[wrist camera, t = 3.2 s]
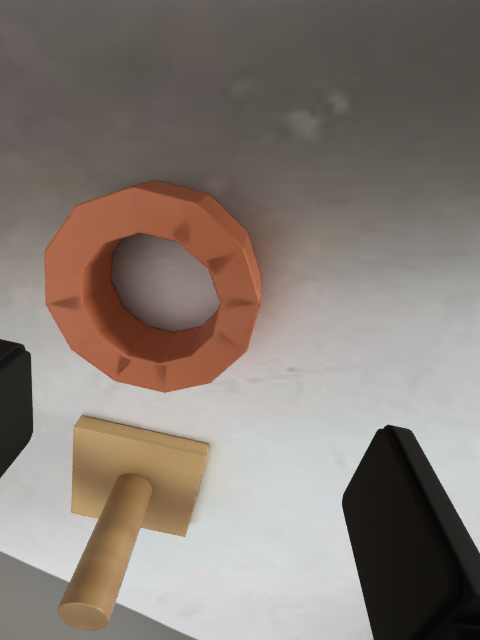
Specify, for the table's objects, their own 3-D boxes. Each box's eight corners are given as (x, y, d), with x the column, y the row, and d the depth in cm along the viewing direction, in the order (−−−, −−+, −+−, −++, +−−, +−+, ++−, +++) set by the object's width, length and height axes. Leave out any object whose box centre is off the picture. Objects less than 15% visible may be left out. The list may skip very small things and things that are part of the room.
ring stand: (81, 415, 21) (-12, 548, 14) (209, 444, 22) (181, 588, 15) (77, 499, 25) (1, 642, 18) (188, 523, 25) (157, 672, 18)
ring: (82, 161, 15) (42, 163, 12) (279, 211, 15) (282, 224, 13) (77, 335, 19) (46, 366, 16) (235, 372, 19) (230, 408, 17)
